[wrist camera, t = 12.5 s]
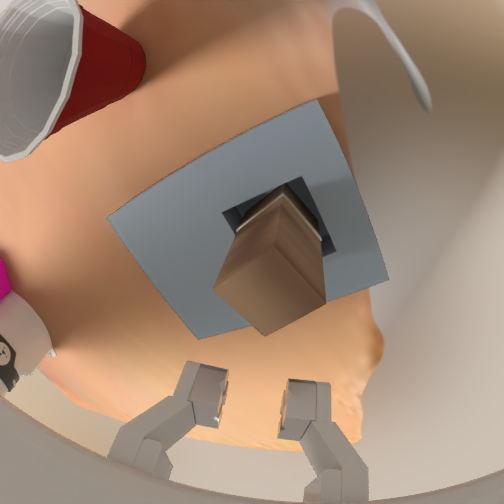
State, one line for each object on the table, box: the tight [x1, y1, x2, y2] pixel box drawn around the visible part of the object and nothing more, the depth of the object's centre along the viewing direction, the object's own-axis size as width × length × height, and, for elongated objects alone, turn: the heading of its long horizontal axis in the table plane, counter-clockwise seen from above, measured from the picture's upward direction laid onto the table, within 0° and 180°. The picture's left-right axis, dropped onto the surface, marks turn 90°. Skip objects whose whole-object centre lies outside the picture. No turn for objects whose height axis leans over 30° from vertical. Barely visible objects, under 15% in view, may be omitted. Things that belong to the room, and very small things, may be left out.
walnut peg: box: [212, 183, 326, 336], centre depth 19 cm, size 4×4×10 cm
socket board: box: [107, 99, 389, 340], centre depth 23 cm, size 18×14×4 cm
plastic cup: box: [0, 0, 146, 163], centre depth 14 cm, size 11×11×12 cm
